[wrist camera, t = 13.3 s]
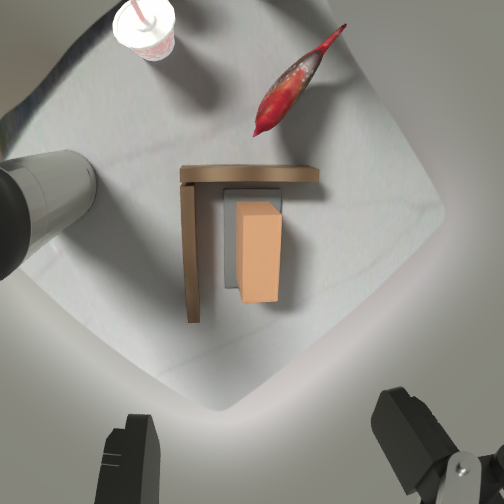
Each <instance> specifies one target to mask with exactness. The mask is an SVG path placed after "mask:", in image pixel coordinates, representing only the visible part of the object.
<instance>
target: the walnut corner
mask: <svg viewBox="0 0 504 504" xmlns="http://www.w3.org/2000/svg"><path fill="white" fill-rule="evenodd" d="M218 181H285V182H319V169H316V168H313V167H310V166H293V165H186V166H182V167H181V168H180V182H182V184H181V186H180V198H181V226H182V246H183V264H184V279H185V293H186V305H187V317H188V323H200V304H199V286H198V266H197V242H196V210H195V182H218Z"/></svg>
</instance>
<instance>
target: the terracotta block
mask: <svg viewBox="0 0 504 504" xmlns="http://www.w3.org/2000/svg"><path fill="white" fill-rule="evenodd" d="M281 228H282V214H281V213H280V212H279V211H278V210H277V209H276V208H275V207H274V206H273V205H272V204H271V203H270V202H237V211H236V278H237V282H238V287H239V291H240V295H241V299H242V303H256V302H274V301H278V285H279V268H280V249H281Z"/></svg>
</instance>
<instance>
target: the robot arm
mask: <svg viewBox="0 0 504 504" xmlns="http://www.w3.org/2000/svg"><path fill="white" fill-rule="evenodd" d="M96 188H97V182H96V176H95V173H94V170H93V168H92V166H91V165H90V163H89V162H88V161H87V159H86V158H85V157H83V156H82V155H80V154H79V153H77V152H74V151H69V150H63V151H56V152H49V153H43V154H37V155H31V156H26V157H21V158H16V159H11V160H6V161H2V162H0V281H1V280H3V279H4V278H6V277H7V276H8V275H10V274H11V273H12V272H13V271H14V270H15V269H16V268H17V267H18V266H20V265H21V264H22V263H23V262H24V261H26V260H27V259H28V258H29V257H30V256H31V255H33V254H34V253H35V252H36V251H37V250H39V249H40V248H41V247H42V246H44V245H45V244H46V243H47V242H49V241H50V240H51V239H52V238H54V237H55V236H56V235H58V234H59V233H60V232H61V231H63V230H64V229H65V228H67V227H68V226H69V225H71V224H72V223H74V222H75V221H76V220H78V219H79V218H80V217H82V216H83V215H84V214H85V213H86V212H87V211H88V210H89V209H90V207H91V206H92V204H93V201H94V199H95V195H96ZM371 428H372V431H373V433H374V435H375V437H376V439H377V440H378V442H379V444H380V446H381V448H382V450H383V451H384V453H385V455H386V457H387V459H388V461H389V463H390V464H391V466H392V468H393V470H394V472H395V474H396V476H397V477H398V480H399V482H400V483H401V485H402V487H403V489H404V491H405V493H406V495H410V494H412V493H414V492H418V493H419V495H420V496H419V497H418V499H417V502H416V504H504V499H503V498H502V496H501V494H500V492H499V491H500V490H501V489H502V488H503V489H504V445H503V446H501V447H500V448H499V450H498V451H497V452H496V453H495V454H492V455H487V456H481V457H476V456H475V455H474V454H472V453H470V452H466V451H459V450H458V449H457V447H456V446H455V444H454V443H453V442H452V440H451V439H450V437H449V436H448V434H447V433H446V432H445V430H444V429H443V427H442V426H441V425H440V423H438V422H437V419H436V418H435V416H434V415H432V412H431V411H430V410H429V408H428V407H427V406H426V404H425V403H423V402H422V401H420V400H419V399H418V398H416V397H415V396H414V397H410V395H409V394H408V393H407V391H406V390H405V389H404V388H403V387H396V388H392V389H389V390H384V391H382V392H381V394H380V396H379V399H378V401H377V404H376V407H375V410H374V412H373V414H372V417H371ZM101 463H102V466H101V468H100V473H99V479H98V484H97V490H96V497H95V502H94V504H159V478H160V443H159V439H158V436H157V433H156V430H155V426H154V423H153V419H152V417H151V415H144V414H129V415H128V416H127V420H126V426H125V429H118V428H117V429H116V428H114V429H113V431H112V433H111V434H110V435H109V436H108V438H107V439H106V442H105V447H104V455H103V457H102V462H101Z"/></svg>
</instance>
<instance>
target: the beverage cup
mask: <svg viewBox="0 0 504 504" xmlns="http://www.w3.org/2000/svg"><path fill="white" fill-rule="evenodd" d="M174 24H175V13H174V8H173V7H172V5H171V4H170V3H169V1H168V0H130V1H128V2H127V3H125V4H124V5H123V6H122V7H121V8H120V10H119V11H118V12H117V13H116V16H115V18H114V21H113V33H114V35H115V37H116V38H117V40H118V41H119V42H120V43H121V44H122V45H124V46H126V47H128V48H130V49H132V50H134V51H135V52H136V53H137V54H138V55H140V56H141V57H142V58H144V59H146V60H148V61H158V60H162V59H163V58H165V57H167V56H168V55H169V54H170V53H171V51H172V50H173V47H174V44H175V41H174V28H173V27H174Z"/></svg>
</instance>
